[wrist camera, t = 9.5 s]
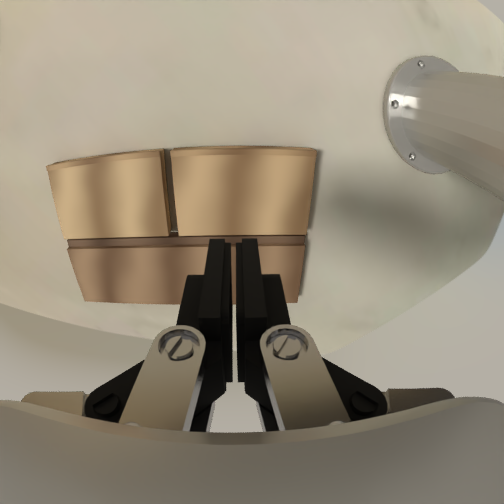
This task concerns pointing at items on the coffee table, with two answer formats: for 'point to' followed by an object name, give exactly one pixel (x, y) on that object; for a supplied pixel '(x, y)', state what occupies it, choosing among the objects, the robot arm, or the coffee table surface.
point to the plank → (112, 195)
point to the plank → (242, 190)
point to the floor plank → (171, 265)
